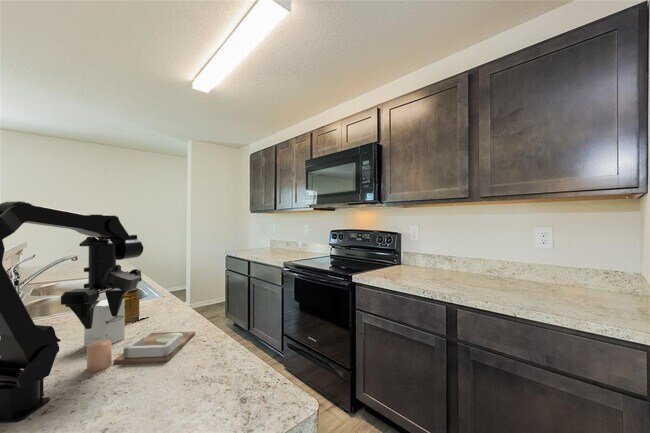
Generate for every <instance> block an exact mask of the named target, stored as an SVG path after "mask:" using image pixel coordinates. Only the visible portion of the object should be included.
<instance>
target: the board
mask: <svg viewBox="0 0 650 433" xmlns="http://www.w3.org/2000/svg"><path fill="white" fill-rule="evenodd" d="M195 335H196V331H194V330H193V331H167V332H165V331H164V332H150V334H148V335H147V336H144V346H154V345H166V344H167V343H168V342H169V341H170V340H172V339H173V338H174V337H175V336H180V345H179V346H178V347H177V348H175V349H174V350H173V351H172V352H171V353H170V354H169V355H168V356H160V357H133V358H124V352H123V353H122V354H120V355H119V356H116V358H115V359H113V364H114V365H116V364H119V365H120V364H121V365H122V364H143V363H147V364H148V363H168V362H169V361H170V360H171V359H172V358H173V357H174V356H175V355H176V354H177V353H178V352H179V351H180V350H181V349H182V348H183V347H184V346H185V345H187V343H188V342H189V341H191V340H192V338H194V336H195Z"/></svg>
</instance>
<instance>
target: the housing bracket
mask: <svg viewBox="0 0 650 433" xmlns="http://www.w3.org/2000/svg"><path fill="white" fill-rule="evenodd" d="M144 338H145V336H140V337H138V338H137V339H135V340H134V341H133V342H131V343H129V344H128V345H127V346H125V347H123V353H124V358H133V357H160V356H168V355H169V354H170V353H171V352H172V351H173V350H174V349H175V348H177V347H178V346H179V345H180V336H175V337H174V338H173V339H172V340H170V341H169V342H168V343H167V344H166V345H154V346H144Z"/></svg>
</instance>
